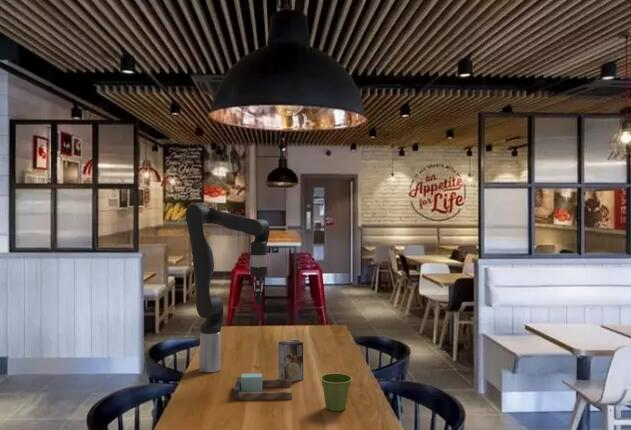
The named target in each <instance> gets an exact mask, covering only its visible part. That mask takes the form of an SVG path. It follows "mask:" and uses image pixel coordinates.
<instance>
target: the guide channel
mask: <svg viewBox="0 0 631 430" xmlns="http://www.w3.org/2000/svg"><path fill="white" fill-rule="evenodd" d="M284 387H285V388H286V387H287V388H289V387H290V388H291V387H292V382H291V380H280V379H262V388H284ZM292 399H293V391H265V392H264V391H262V392H241V376H237V377H236V380H235V384H234V388H233V401H258V400H260V401H263V400H292Z"/></svg>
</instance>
